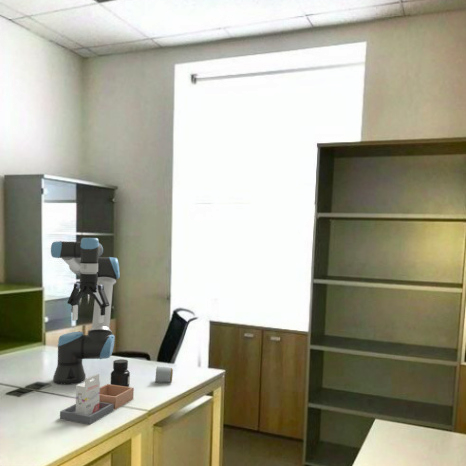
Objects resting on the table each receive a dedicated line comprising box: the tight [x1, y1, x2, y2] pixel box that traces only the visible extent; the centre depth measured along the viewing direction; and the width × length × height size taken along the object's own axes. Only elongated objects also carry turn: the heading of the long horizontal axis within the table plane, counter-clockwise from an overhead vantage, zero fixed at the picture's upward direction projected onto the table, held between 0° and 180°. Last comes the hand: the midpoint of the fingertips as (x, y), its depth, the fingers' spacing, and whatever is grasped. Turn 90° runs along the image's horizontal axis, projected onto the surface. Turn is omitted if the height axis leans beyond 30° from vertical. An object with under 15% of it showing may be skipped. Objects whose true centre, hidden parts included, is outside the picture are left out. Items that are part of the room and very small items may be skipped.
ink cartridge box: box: [75, 373, 101, 415], centre depth 179 cm, size 9×5×15 cm, turn 155°
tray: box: [59, 402, 114, 425], centre depth 179 cm, size 14×15×3 cm
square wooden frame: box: [99, 383, 135, 410], centre depth 194 cm, size 14×14×5 cm
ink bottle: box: [109, 358, 131, 387], centre depth 216 cm, size 10×9×12 cm
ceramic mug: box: [155, 365, 174, 384], centre depth 225 cm, size 11×8×8 cm
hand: (87, 321), depth 196 cm, fingers open, 13 cm apart
